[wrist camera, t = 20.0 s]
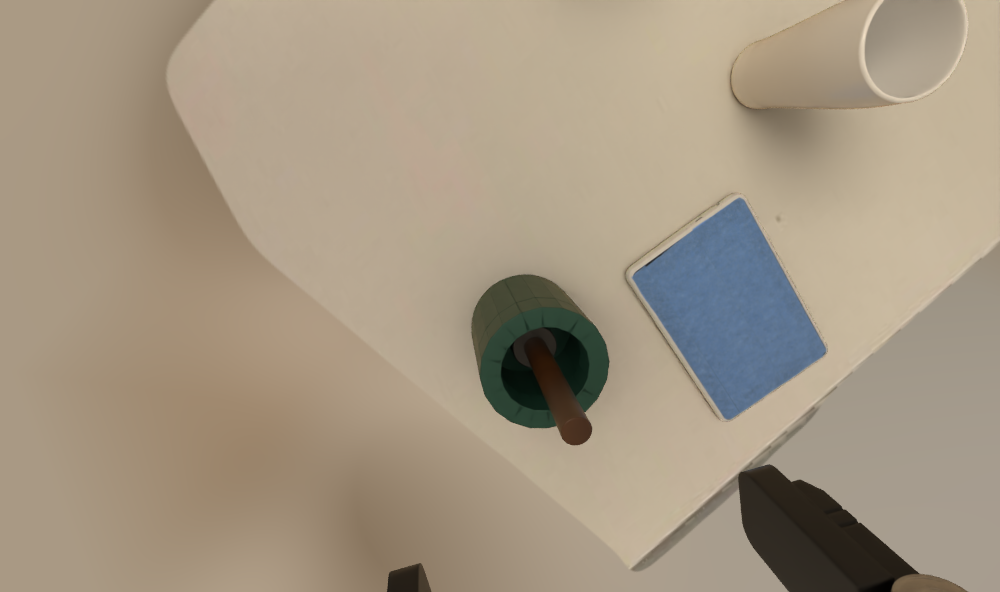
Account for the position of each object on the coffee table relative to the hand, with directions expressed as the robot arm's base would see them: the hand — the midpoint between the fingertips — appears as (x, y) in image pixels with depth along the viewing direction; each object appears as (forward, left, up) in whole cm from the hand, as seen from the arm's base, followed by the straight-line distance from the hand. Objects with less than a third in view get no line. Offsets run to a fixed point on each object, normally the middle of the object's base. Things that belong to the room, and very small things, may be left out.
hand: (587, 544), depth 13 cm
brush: (+2, -7, -33) cm, 34 cm away
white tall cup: (+26, +9, -34) cm, 44 cm away
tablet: (+21, -11, -34) cm, 42 cm away
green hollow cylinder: (+2, -7, -34) cm, 35 cm away
